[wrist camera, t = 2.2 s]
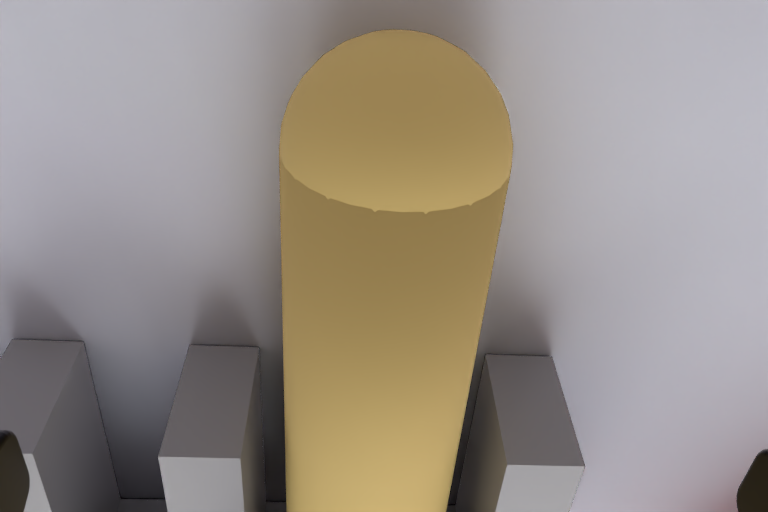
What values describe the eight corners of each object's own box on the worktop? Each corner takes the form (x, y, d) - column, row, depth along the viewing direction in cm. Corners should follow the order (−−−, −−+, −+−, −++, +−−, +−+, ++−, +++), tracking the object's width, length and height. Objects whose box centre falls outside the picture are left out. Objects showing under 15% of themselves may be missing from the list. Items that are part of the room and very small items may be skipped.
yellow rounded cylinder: (430, 488, 19) (442, 624, 16) (293, 485, 19) (280, 623, 16) (510, 4, 12) (558, 94, 9) (288, -9, 12) (263, 79, 9)
